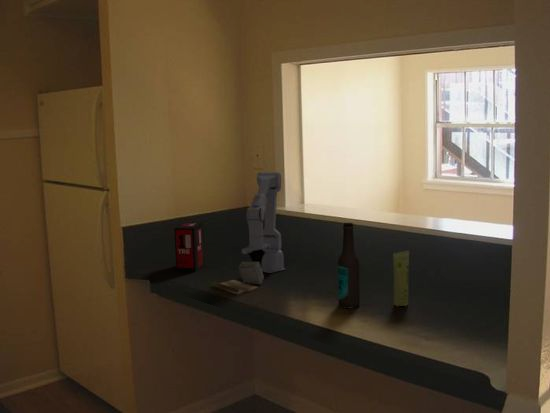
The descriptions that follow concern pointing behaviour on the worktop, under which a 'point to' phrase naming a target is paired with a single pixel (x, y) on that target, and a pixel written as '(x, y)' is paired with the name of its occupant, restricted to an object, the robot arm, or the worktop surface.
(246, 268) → the medicine box
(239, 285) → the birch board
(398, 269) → the tube
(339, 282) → the beer bottle
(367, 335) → the worktop surface
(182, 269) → the cleaning product box
